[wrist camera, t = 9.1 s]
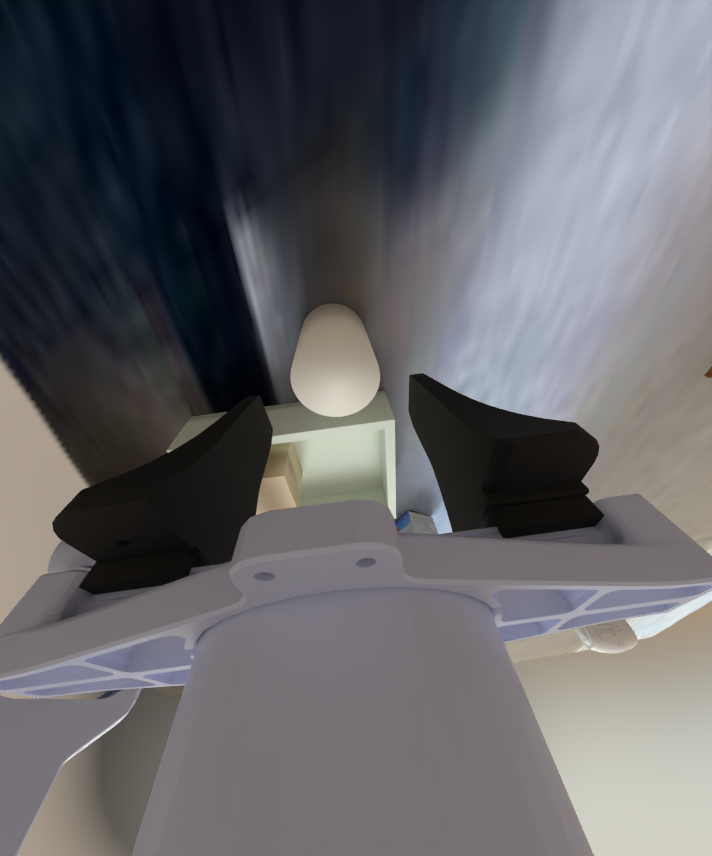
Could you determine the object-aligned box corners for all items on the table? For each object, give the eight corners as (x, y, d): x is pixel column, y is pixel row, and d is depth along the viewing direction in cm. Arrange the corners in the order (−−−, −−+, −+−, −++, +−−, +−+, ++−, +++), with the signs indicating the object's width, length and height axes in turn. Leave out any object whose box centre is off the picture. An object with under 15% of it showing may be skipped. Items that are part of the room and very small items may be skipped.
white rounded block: (546, 589, 61) (587, 658, 51) (554, 582, 58) (599, 653, 48) (587, 584, 61) (635, 651, 52) (597, 577, 59) (650, 646, 49)
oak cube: (256, 477, 27) (244, 518, 23) (238, 442, 24) (221, 483, 20) (302, 470, 27) (298, 511, 23) (291, 435, 24) (283, 475, 20)
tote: (246, 505, 31) (236, 540, 28) (191, 416, 23) (166, 450, 19) (388, 485, 31) (396, 518, 28) (384, 390, 23) (394, 419, 19)
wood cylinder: (308, 372, 21) (302, 422, 16) (293, 308, 18) (279, 342, 13) (368, 363, 21) (381, 411, 16) (362, 298, 18) (377, 329, 13)
